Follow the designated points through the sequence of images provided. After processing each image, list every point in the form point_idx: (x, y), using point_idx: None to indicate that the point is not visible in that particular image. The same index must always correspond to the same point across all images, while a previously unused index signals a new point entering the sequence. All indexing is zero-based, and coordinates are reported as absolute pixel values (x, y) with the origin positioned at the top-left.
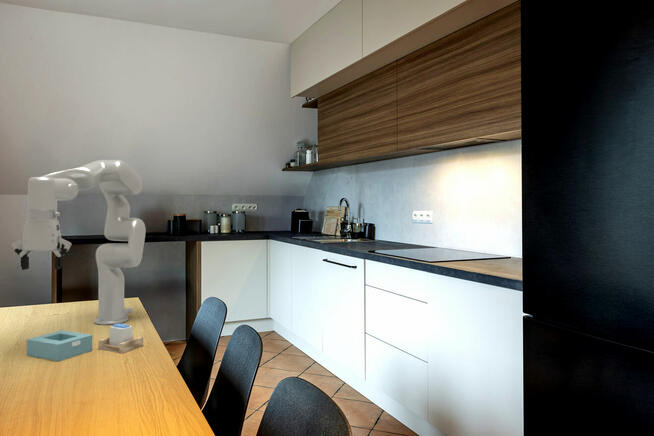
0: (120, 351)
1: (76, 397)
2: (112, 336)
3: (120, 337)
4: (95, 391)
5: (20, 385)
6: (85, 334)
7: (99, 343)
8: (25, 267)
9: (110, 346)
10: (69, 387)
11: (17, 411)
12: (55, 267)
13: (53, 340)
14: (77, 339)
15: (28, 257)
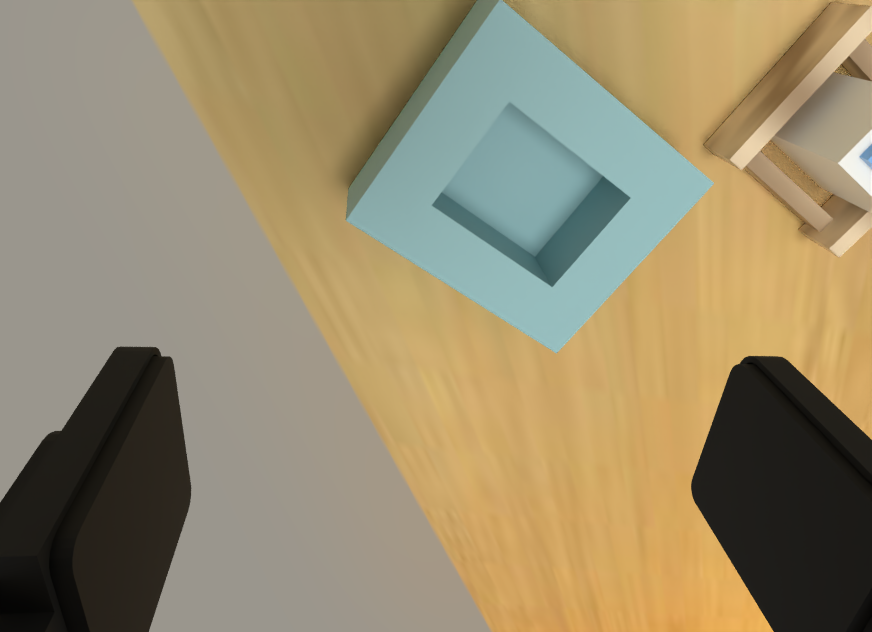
0: (809, 237)
1: (655, 603)
2: (816, 162)
3: (856, 200)
4: (700, 577)
5: (477, 525)
6: (673, 163)
7: (725, 158)
8: (180, 493)
9: (775, 191)
10: (627, 549)
11: None
12: (712, 518)
13: (512, 272)
14: (637, 264)
15: (84, 562)
